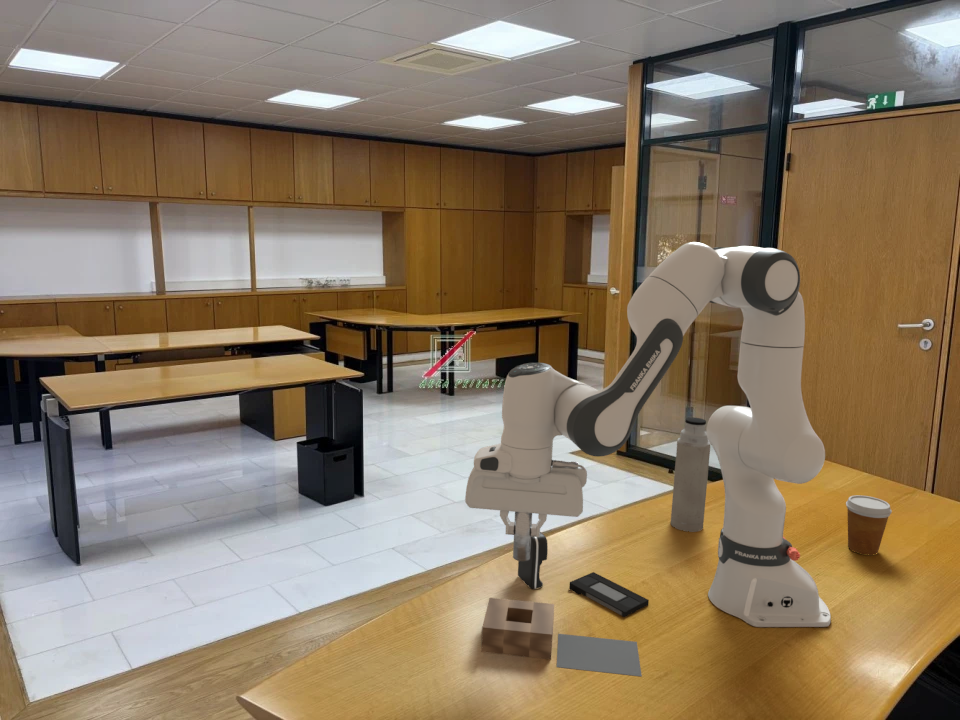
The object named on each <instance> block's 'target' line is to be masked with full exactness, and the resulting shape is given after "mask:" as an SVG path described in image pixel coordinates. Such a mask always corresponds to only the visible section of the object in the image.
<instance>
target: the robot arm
mask: <svg viewBox="0 0 960 720" xmlns="http://www.w3.org/2000/svg"><path fill="white" fill-rule="evenodd" d="M800 273H801V272H800V269H799V266H798V263H797V261H796V260H795V258H794V257H793V256H792V255H791V254H790V253H788V252H787V251H784V250H780V249H777V248H774V247H760V246H751V245H750V246H749V245H740V246H731V247H723V246H720V247H719V246H718V247H711V246H710V245H707V244H705V243H702V242H697V241H692V242H691V241H690V242H686V243H684V244H682V245H680V246H679V247H678V248H677V249H676V250H674V251H673V252H672V253H671V254H669V255H668V256H667V257H666V258H665V259H664V260H663V261H662V262H661V263H659V264H658V265H657V266H656V267H655V268H654V269H653V271H651V272H650V274H649V275H648V276H647V277H646V278H645V279H644V280H643V282H642V283H641V284H640V285H639V286H638V287H637V289H636V290H635V292H634V293H633V295H632V296H631V298H630V299H629V302H628V303H627V309H626V311H627V312H626V313H627V320H628V321H627V322H628V323H629V326H630V329H631V330H632V332H633V333H634V334H635V336H636V345H635V348H634V350H633V351H632V353H631V355H629V357H628V358H627V360H626V362H625V363H624V364H623V366H622V367H621V369H620V370H619V371H618V373H617V374H616V375H615V378H614V379H613V380H612V381H611V383H610V384H609V385H607V386H606V387H604V388H602V389H598V388H595V387H593V386H592V385H589V384H587V383H585V382H582V381H579V380H576V379H573V378H571V377H568V376H566V375H565V374H562V373H561V372H560V371H557V370H555V369H554V368H553V367H552V365H550V364H548V363H544V362H528V363H523V364H520V365H516V366H515V367H514V368H512V369H511V370H510V371H509V372H508V374H507V375H506V377H505V383H504V388H503V393H502V394H503V395H502V406H501V419H502V422H503V430H502V433H501V438H500V443H496V444H492V445H489V446H484V447H481V448H479V449H478V450H477V452H476V453H475V455H474V459H473V467H472V470H471V471H470V473H469V476H468V479H467V484H466V489H465V497H464V501H465V504H466V505H467V507H468V508H469V509H479V510H481V509H482V510H491V511H499V516H500V519H501V521H502V522H503V524H504V526H505V535H511V536H514V522H515V521H512V520H511V519H510V517H509V513H510V512H512V513H513V512H514V513H515V512H525V513H532V514H537V516H538V517H537V519H538V520H537V522H536V523H532V526H531V537H539V535H540V532H541V528H542V527H543V526H544V524H545V523H546V522H547V518H548V515H550V516H562V517H572V518H579V517H580V516H581V514H583V512H584V511H583V510H584V494H583V493H584V491H583V488H584V487H585V486H586V484H587V480H588V479H587V478H588V471H587V469H586V468H585V467H584V466H583V465H582V464H579V462H577V461H565V460H556V459H555V460H554V459H553V447H554V446H553V445H554V439H555V438H556V437H557V436H558V437H559V436H564V437H565V438H566V439H568V440H570V441H571V442H572V443H573V444H574V445H575V446H576V447H578V449H579V450H580V451H581V452H583V453H585V455H589V456H592V457H605V456H608V455H609V456H610V455H612V454H614V453H615V452H617V451H618V450H619V449H621V448H623V446H624V445H625V444H626V443H627V441H628V440H629V438H630V436H631V434H632V431H633V429H634V426H635V423H636V421H637V419H638V417H639V415H640V412H641V411H642V409H643V407H644V406H645V405H646V403H647V401H648V399H650V397H651V396H652V394H653V392H654V391H655V389H656V388H657V387H658V385H659V383H660V382H661V381H662V379H663V378H664V376H665V375H666V373H667V372H668V370H669V368H670V367H671V365H673V362H674V361H675V359H676V358H677V356H678V354H679V352H680V350H681V348H682V347H683V346H682V345H683V342H684V336H685V334H686V332H687V331H688V329H689V328H690V327H691V325H692V324H693V322H695V320H696V319H697V318H698V316H699V315H700V313H702V311H703V310H704V309H705V307H707V305H708V304H709V303H711V304H719V305H722V306H725V307H729V308H733V309H734V308H736V309H740V310H741V312H742V313H741V314H742V317H743V320H742V321H743V323H742V328H741V333H740V344H739V355H738V366H737V376H736V377H737V382H738V385H739V387H740V388H741V390H742V391H743V392H744V394H745V396H746V399H747V401H748V403H749V406H750V407H749V406H742V405H723V406H721V407H719V408H718V409H716V410H715V411H714V412H713V413H712V414H711V416H710V417H709V419H708V421H707V423H706V428H705V431H706V433H707V438H708V441H709V442H710V444H711V445H710V446H711V447H712V449H713V450H714V452H715V454H716V457H717V460H718V463H719V467H720V472H721V476H722V480H723V487H724V511H723V513H724V514H723V524H722V529H721V530H720V533H719V534H720V535H719V538H718V545H717V555H718V556H717V557H718V562H717V567H716V571H715V574H714V578H713V581H712V583H711V585H710V588H709V590H708V593H707V596H708V598H709V600H710V601H711V603H712V604H713V605H714V606H715V607H716V608H718V609H719V610H721V611H723V612H725V613H727V614H729V615H731V616H734V617H736V618H739V619H741V620H743V622H745V623H746V624H748V625H750V626H753V627H755V628H795V627H796V628H806V627H807V628H812V627H814V628H819V627H820V628H826V627H827V628H828V627H829V626H830V624H831V621H832V620H831V619H832V616H831V612H830V610H829V607H828V605H827V604H826V602H824V600H823V599H822V598H821V597H820V596H819V595H820V594H819V590H818V587H817V584H816V582H815V580H814V579H813V577H812V575H810V573H809V572H808V571H807V570H806V569H804V568H803V567H802V566H801V565H800V564H798V562H796V561H799V560H800V559H801V558H800V557H801V553H800V551H799V550H798V549H797V548H796V547H793V545H792V543H791V542H790V541H788V540H787V539H786V537H784V528H785V520H786V511H787V505H786V501H785V498H784V496H783V494H782V493H781V491H780V490H779V488H778V486H777V484H776V482H775V480H777V481H781V482H787V483H792V484H797V485H798V484H801V485H802V484H807V483H808V482H810V481H812V480H813V479H814V478H816V477H817V476H818V474H819V473H821V470H822V468H823V466H824V464H825V459H826V449H825V446H824V443H823V441H822V439H821V438H820V437H819V436H818V434H817V433H816V432H815V430H814V429H813V426H812V425H811V423H810V420H809V417H808V415H807V411H806V408H805V404H804V400H803V394H802V392H803V391H802V371H803V370H802V369H803V357H804V347H805V346H804V345H805V335H806V334H805V333H806V320H805V319H806V317H805V305H804V298H803V295H802V294H801V292H800V291H799V290H800V287H801V274H800Z"/></svg>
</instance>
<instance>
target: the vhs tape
mask: <svg viewBox="0 0 960 720" xmlns="http://www.w3.org/2000/svg"><path fill="white" fill-rule="evenodd" d="M569 589H570V591H571V592H573V593H575V594H577V595H582V596H584V597H586V598H588V599H591V600H592V601H594V602H596V603H598V604H600V605H601V606H603V607H605V608H607V609H608V610H610V611H613V612H614V613H616V614H618V615H619V616H621V617H622V618H626V617H628V616H630V615H632V614H634V613H636V612H637V611H640V610H642V609H643V608H645V607H648V606H649V604H650V603H649V602H650V599H648V598H646V597H644V596H642V595H640V594H638V593H636V592H634V591H633V590H632V591H631V590H630V589H628V588H626V587H624V586H622V585H620V584H618V583H616V582H614V581H612V580H610V579H608V578H606V577H604V576H603V575H601V574H598V573H596V572H594V571H593V572H590V573H587V574H586V575H583V576H581V577H579V578H576V579H574V580H571V581H569Z"/></svg>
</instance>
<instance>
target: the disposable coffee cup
mask: <svg viewBox="0 0 960 720" xmlns="http://www.w3.org/2000/svg"><path fill="white" fill-rule="evenodd" d="M845 506H846V510H847V547H849V548H850V549H851V550H850V549H849V548H848V549H849V550H850V551H852V550H853V551H852V552H854V551H855V552H854V553H856V552H858V553H857V554H859V553H861V555H863V554H867V555H866V556H874V555H873V554H876V553H877V554H879V550H880V548H881V547H880V546H881V544H882V539H883V537H884V534H885V529H886V527H887V525H888V524H887V523H888V520H889V517H890V516H891V514H892V509H891V505H890V503H888V502H887V501H885V500H883V499H880V498H877V497H874V496H870V495H869V496H868V495H861V494H860V495H850V496H849V497H848V499H847V501H846V502H845ZM868 554H869V555H868ZM877 554H876V555H877Z"/></svg>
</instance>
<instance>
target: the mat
mask: <svg viewBox="0 0 960 720" xmlns="http://www.w3.org/2000/svg"><path fill="white" fill-rule="evenodd" d="M556 649H557V651H556V652H557V653H556V668H558V669H559V668H561V669H571V670H579V671H588V672H597V673H606V674H614V675H615V674H616V675H623V676H634V677H643V676H642V668H641V663H640V655H639V646H638V642H637V641H632V640H621V639H612V638H603V637H595V636H593V637H592V636H585V635H584V636H583V635H574V634H566V633H558V634H557V648H556Z"/></svg>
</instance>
